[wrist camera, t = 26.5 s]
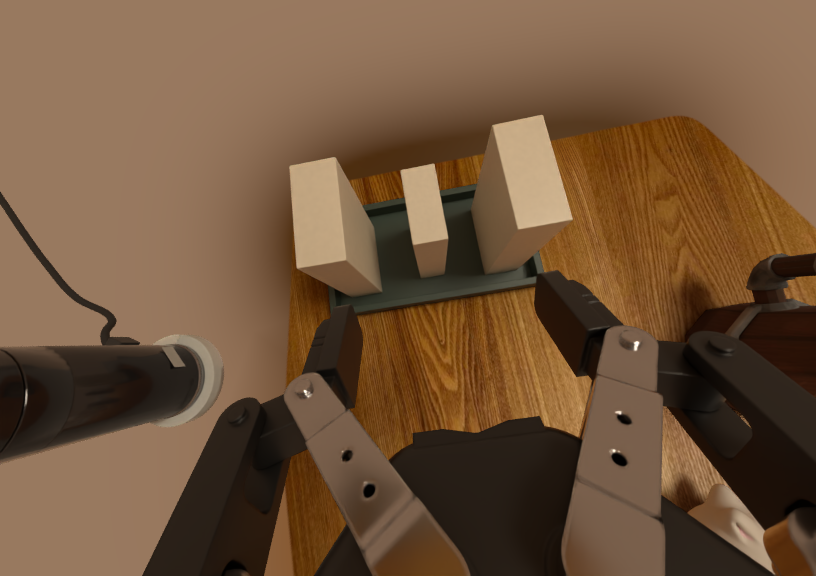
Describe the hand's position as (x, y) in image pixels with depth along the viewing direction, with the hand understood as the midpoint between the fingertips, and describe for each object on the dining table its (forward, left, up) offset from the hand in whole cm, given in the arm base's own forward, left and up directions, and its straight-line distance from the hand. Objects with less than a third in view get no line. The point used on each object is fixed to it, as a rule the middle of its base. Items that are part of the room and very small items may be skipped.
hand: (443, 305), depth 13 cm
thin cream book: (-5, +9, -23) cm, 25 cm away
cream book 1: (-12, +5, -23) cm, 27 cm away
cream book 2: (+2, +13, -23) cm, 27 cm away
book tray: (-5, +9, -24) cm, 26 cm away
